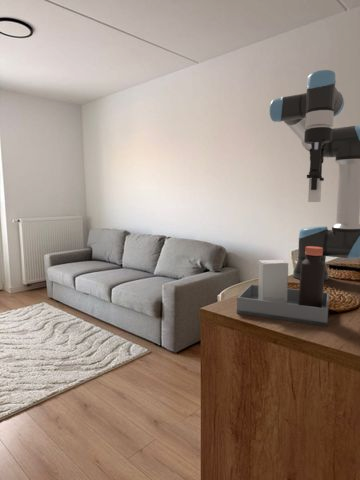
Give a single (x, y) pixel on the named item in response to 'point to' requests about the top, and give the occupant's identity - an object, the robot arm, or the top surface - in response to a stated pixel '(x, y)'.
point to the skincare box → (273, 280)
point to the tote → (282, 307)
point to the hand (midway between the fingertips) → (314, 202)
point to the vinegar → (312, 278)
